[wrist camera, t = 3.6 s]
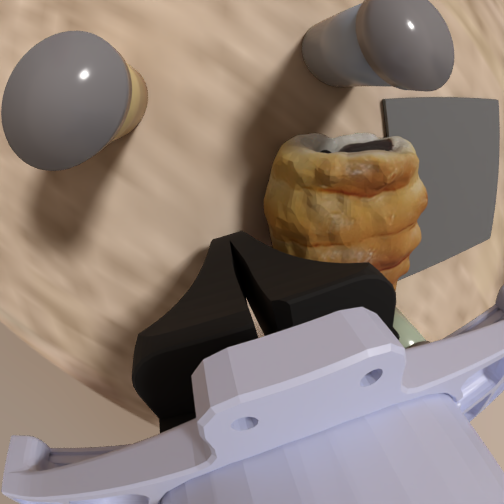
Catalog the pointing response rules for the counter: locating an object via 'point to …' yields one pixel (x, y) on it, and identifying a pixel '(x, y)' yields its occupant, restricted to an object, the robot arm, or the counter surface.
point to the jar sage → (407, 331)
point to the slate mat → (450, 170)
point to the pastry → (347, 200)
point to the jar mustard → (70, 100)
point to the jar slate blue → (382, 46)
